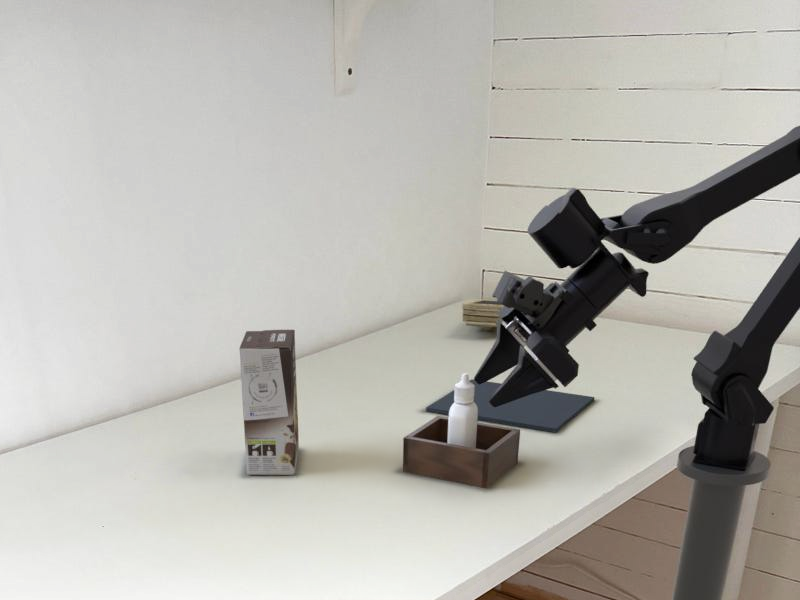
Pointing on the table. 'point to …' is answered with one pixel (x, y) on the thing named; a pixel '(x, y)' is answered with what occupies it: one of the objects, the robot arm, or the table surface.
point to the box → (482, 313)
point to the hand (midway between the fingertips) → (483, 392)
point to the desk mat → (521, 407)
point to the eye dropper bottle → (463, 415)
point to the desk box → (461, 453)
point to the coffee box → (270, 401)
